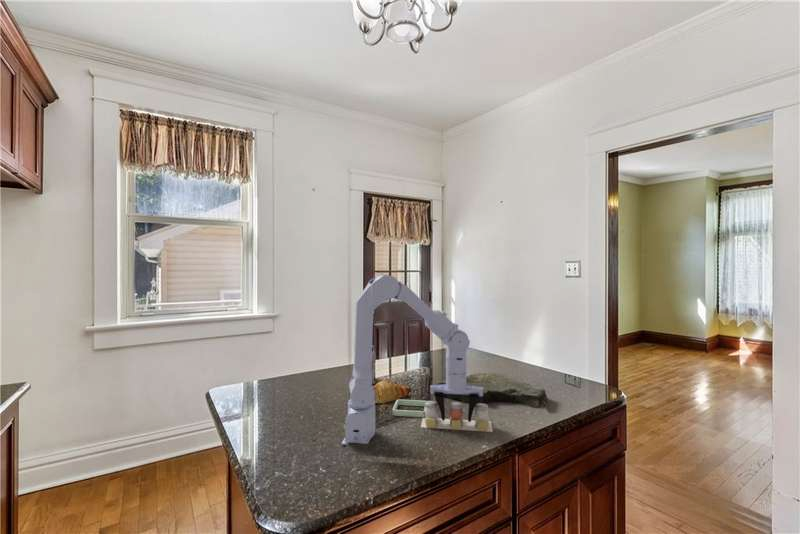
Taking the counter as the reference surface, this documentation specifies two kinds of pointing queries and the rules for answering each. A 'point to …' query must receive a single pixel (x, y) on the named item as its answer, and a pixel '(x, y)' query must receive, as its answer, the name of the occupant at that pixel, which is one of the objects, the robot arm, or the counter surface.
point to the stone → (502, 390)
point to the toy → (373, 364)
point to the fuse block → (457, 424)
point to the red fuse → (456, 412)
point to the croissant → (389, 391)
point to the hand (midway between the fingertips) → (456, 419)
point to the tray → (408, 412)
